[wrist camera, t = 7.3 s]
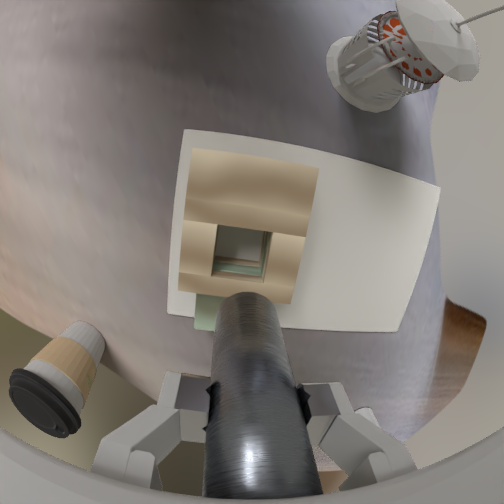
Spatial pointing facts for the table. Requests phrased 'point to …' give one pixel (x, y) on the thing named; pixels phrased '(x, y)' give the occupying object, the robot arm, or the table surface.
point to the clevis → (244, 216)
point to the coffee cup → (59, 380)
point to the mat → (328, 238)
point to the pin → (255, 410)
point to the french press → (403, 54)
